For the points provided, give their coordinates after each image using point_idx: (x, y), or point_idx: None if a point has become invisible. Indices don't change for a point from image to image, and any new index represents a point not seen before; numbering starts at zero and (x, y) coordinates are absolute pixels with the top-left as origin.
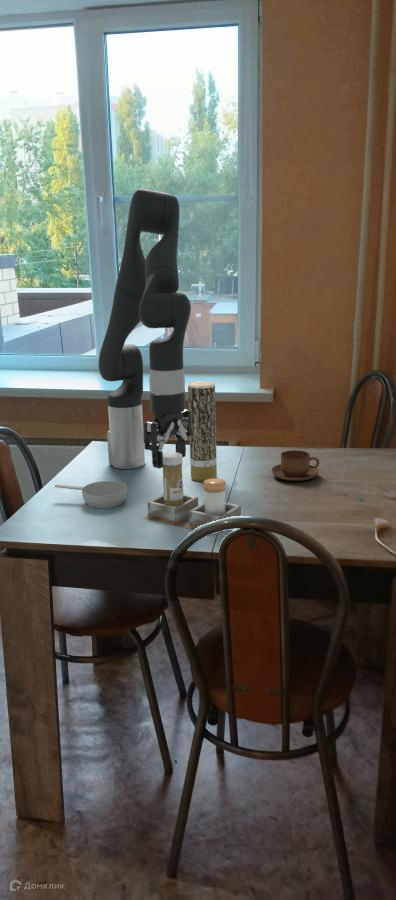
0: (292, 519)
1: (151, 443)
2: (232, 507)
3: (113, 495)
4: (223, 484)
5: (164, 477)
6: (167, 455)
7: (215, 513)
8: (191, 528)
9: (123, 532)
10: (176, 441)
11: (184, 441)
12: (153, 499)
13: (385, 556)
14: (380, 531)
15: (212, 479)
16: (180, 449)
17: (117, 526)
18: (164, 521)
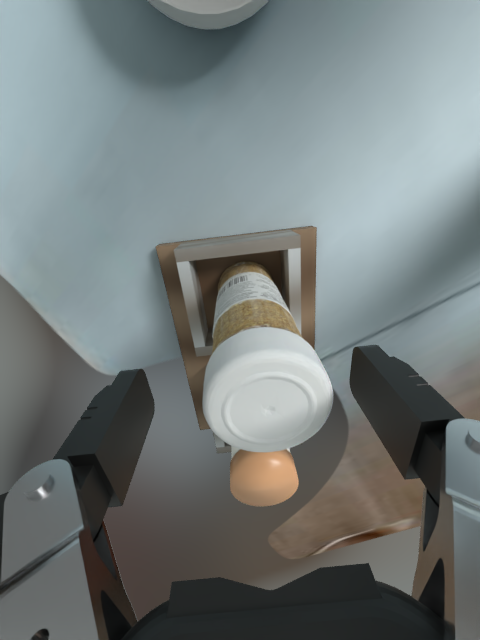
0: (356, 455)
1: (5, 538)
2: None
3: (166, 4)
4: (264, 504)
5: (215, 329)
6: (238, 403)
7: None
8: (191, 381)
9: (79, 245)
10: (413, 425)
11: (419, 477)
12: (206, 248)
13: (293, 558)
14: (364, 535)
15: (281, 471)
16: (374, 404)
17: (89, 197)
18: (179, 311)
